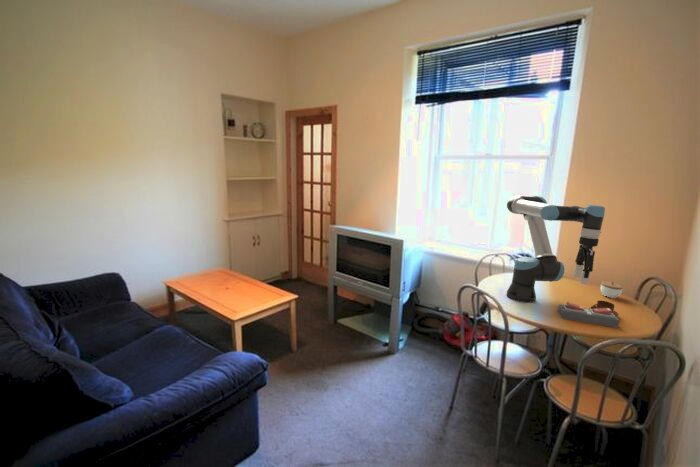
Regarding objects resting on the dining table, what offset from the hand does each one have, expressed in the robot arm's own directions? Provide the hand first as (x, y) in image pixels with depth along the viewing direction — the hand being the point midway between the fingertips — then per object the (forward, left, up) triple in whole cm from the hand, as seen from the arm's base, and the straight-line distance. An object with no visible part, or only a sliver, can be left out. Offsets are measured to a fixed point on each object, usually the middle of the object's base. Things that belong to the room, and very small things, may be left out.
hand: (580, 280), depth 170 cm
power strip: (+6, 0, -20) cm, 21 cm away
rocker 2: (+12, 0, -14) cm, 18 cm away
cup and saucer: (+17, +12, -20) cm, 29 cm away
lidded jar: (+31, +45, -20) cm, 58 cm away
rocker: (0, 0, -14) cm, 14 cm away
